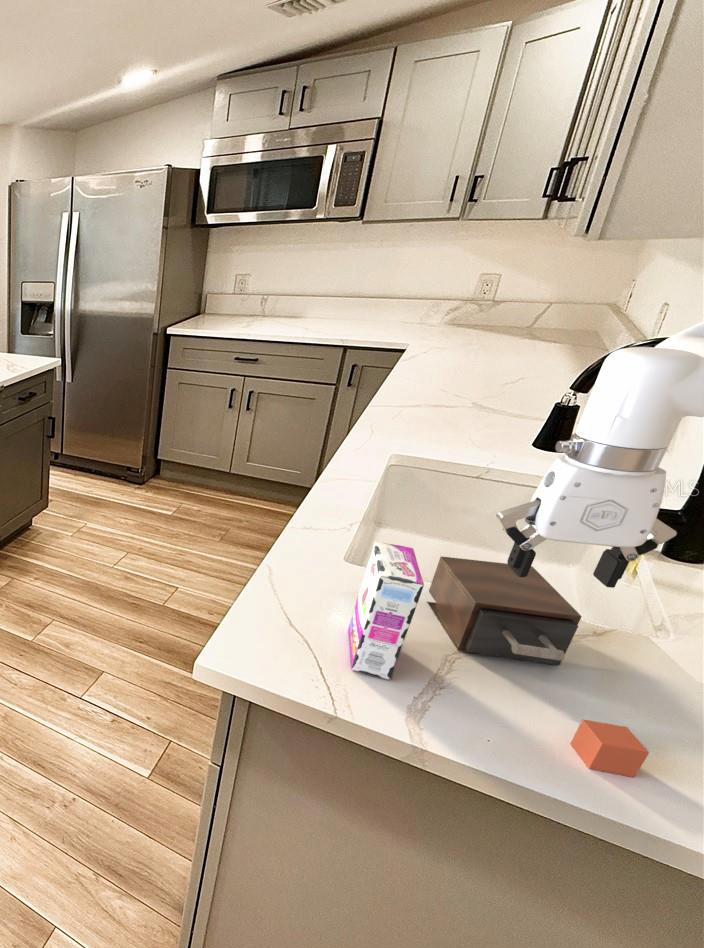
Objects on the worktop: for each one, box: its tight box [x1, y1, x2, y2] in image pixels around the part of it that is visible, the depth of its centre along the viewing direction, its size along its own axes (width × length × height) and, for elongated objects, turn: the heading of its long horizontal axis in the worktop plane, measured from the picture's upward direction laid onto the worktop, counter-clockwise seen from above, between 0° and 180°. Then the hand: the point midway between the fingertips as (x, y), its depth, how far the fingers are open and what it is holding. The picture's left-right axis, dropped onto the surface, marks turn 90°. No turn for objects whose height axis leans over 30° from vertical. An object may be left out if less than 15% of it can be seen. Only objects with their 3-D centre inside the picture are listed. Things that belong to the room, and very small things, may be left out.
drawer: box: [465, 608, 579, 666], centre depth 90 cm, size 17×10×7 cm, turn 158°
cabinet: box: [426, 556, 583, 666], centre depth 93 cm, size 14×12×9 cm
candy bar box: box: [347, 541, 425, 681], centre depth 89 cm, size 11×5×16 cm, turn 149°
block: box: [570, 719, 650, 778], centre depth 72 cm, size 4×4×4 cm
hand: (559, 576), depth 80 cm, fingers open, 8 cm apart
